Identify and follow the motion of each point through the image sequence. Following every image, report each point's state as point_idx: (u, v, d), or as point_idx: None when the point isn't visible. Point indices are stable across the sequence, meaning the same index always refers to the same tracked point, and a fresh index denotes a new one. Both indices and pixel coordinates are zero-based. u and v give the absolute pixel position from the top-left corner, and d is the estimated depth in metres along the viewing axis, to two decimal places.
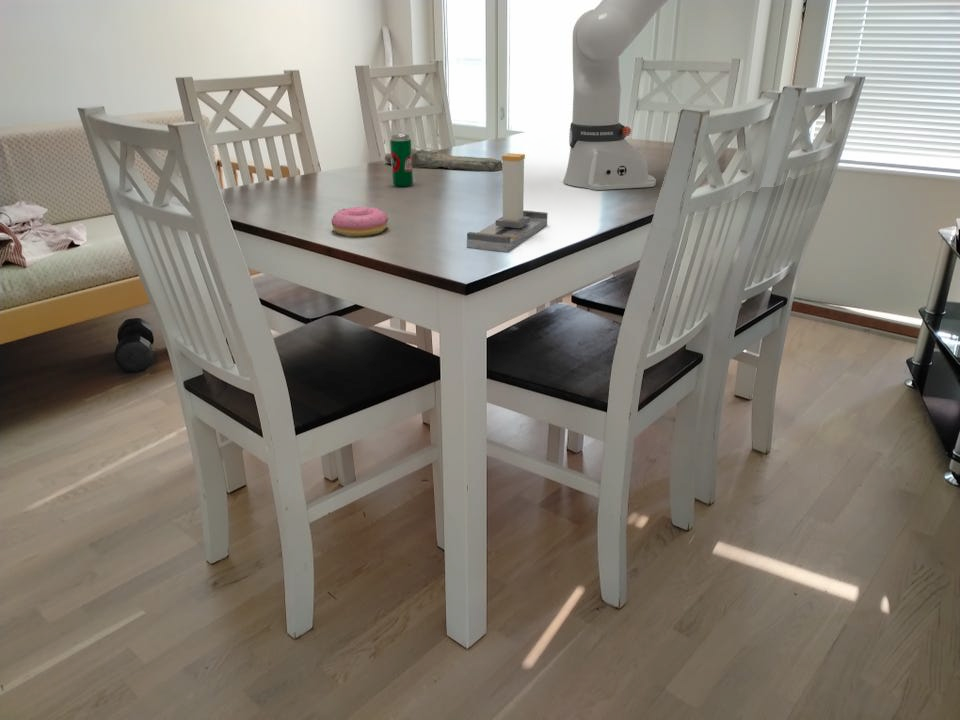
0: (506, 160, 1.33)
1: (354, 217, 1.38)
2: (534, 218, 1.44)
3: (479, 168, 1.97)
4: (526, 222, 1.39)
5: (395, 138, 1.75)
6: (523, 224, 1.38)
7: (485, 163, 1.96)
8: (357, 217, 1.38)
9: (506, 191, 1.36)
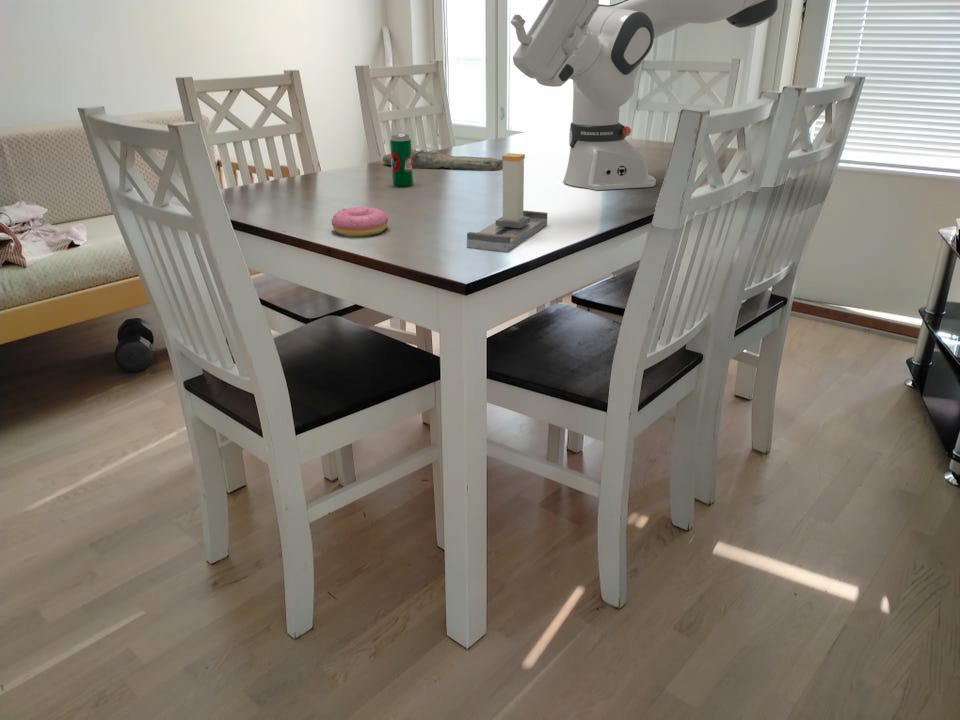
0: (506, 160, 1.33)
1: (354, 217, 1.38)
2: (534, 218, 1.44)
3: (482, 168, 1.98)
4: (526, 222, 1.39)
5: (395, 138, 1.75)
6: (523, 224, 1.38)
7: (488, 163, 1.97)
8: (357, 217, 1.38)
9: (506, 191, 1.36)
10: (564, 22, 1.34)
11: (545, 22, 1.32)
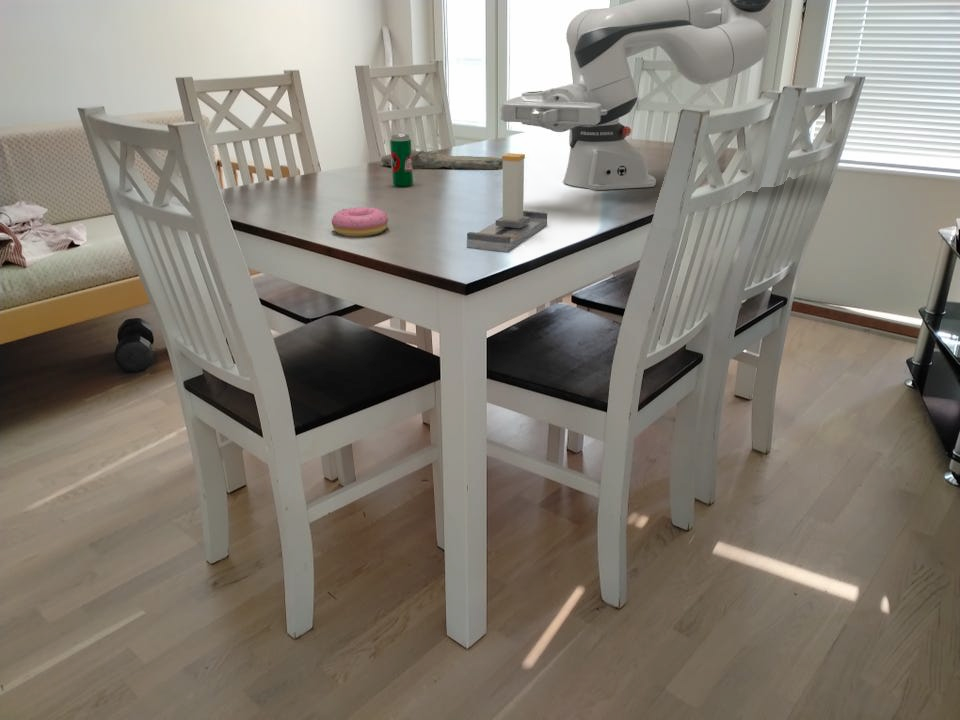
0: (506, 160, 1.33)
1: (354, 217, 1.38)
2: (534, 218, 1.44)
3: (484, 167, 1.99)
4: (526, 222, 1.39)
5: (395, 138, 1.75)
6: (523, 224, 1.38)
7: (490, 162, 1.98)
8: (357, 217, 1.38)
9: (506, 191, 1.36)
10: None
11: (538, 122, 1.47)
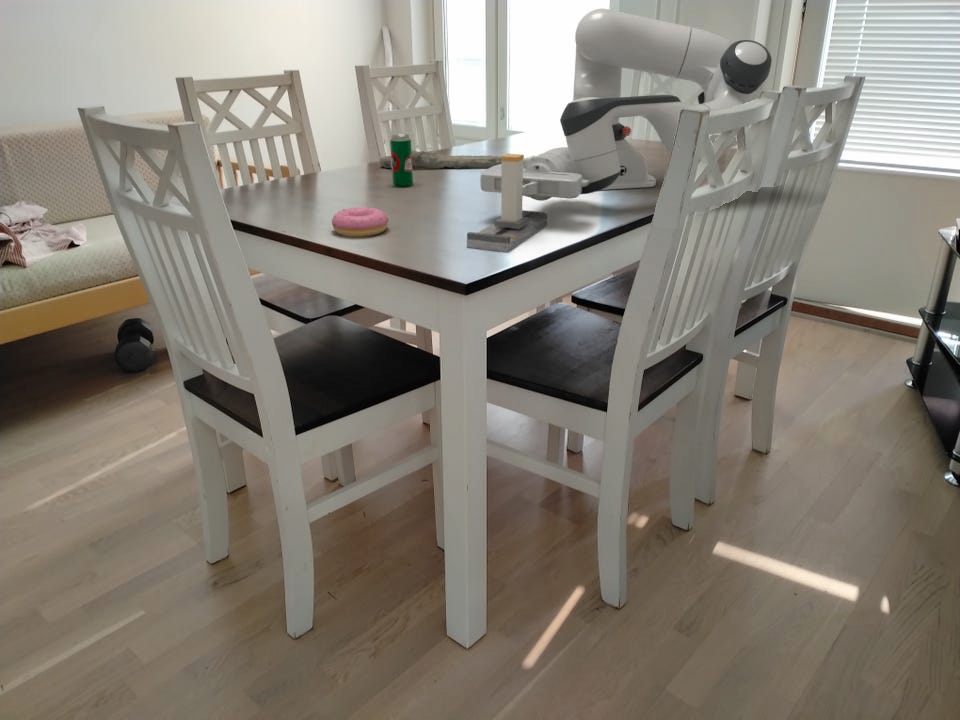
0: (505, 161, 1.33)
1: (354, 217, 1.38)
2: (534, 218, 1.44)
3: (487, 166, 2.00)
4: (525, 223, 1.38)
5: (395, 138, 1.75)
6: (522, 225, 1.37)
7: (492, 160, 2.00)
8: (357, 217, 1.38)
9: (505, 192, 1.35)
10: None
11: None
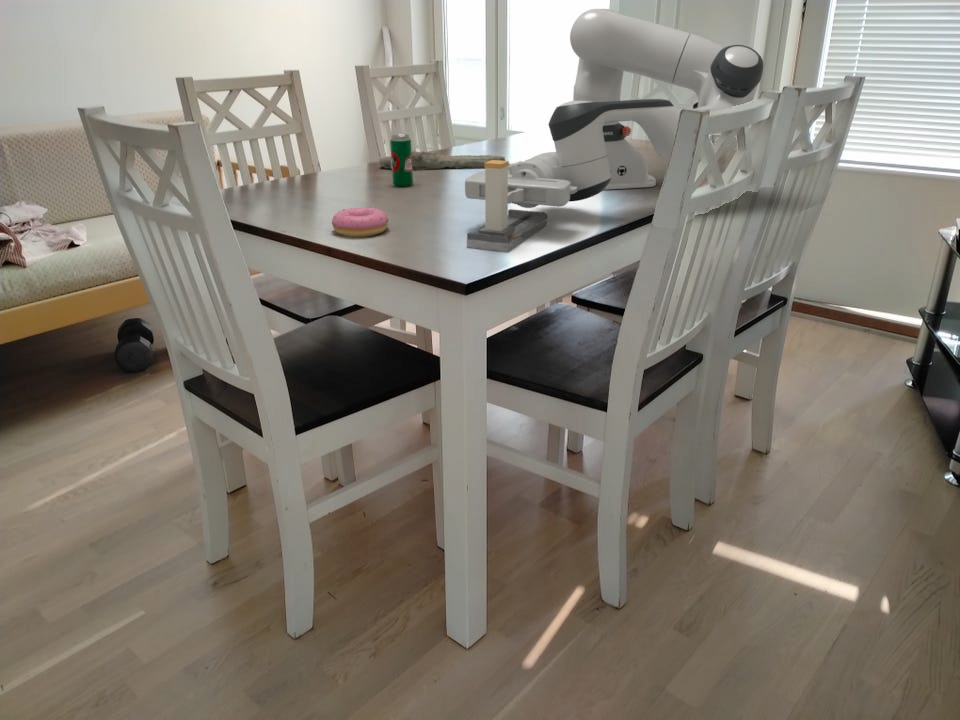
0: (489, 167, 1.27)
1: (354, 218, 1.38)
2: (534, 218, 1.44)
3: None
4: (510, 232, 1.33)
5: (395, 138, 1.75)
6: (507, 234, 1.31)
7: None
8: (357, 218, 1.38)
9: (489, 200, 1.29)
10: None
11: None
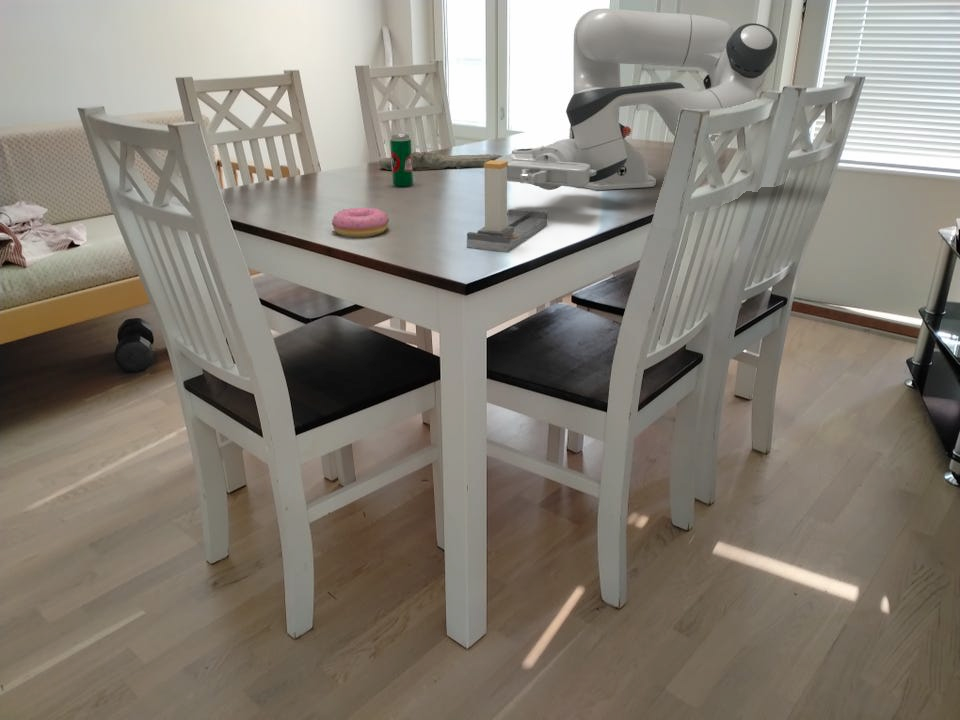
0: (488, 168, 1.27)
1: (355, 218, 1.38)
2: (534, 218, 1.44)
3: None
4: (510, 232, 1.32)
5: (395, 138, 1.75)
6: (506, 234, 1.31)
7: (494, 159, 2.02)
8: (358, 218, 1.38)
9: (488, 200, 1.29)
10: None
11: None
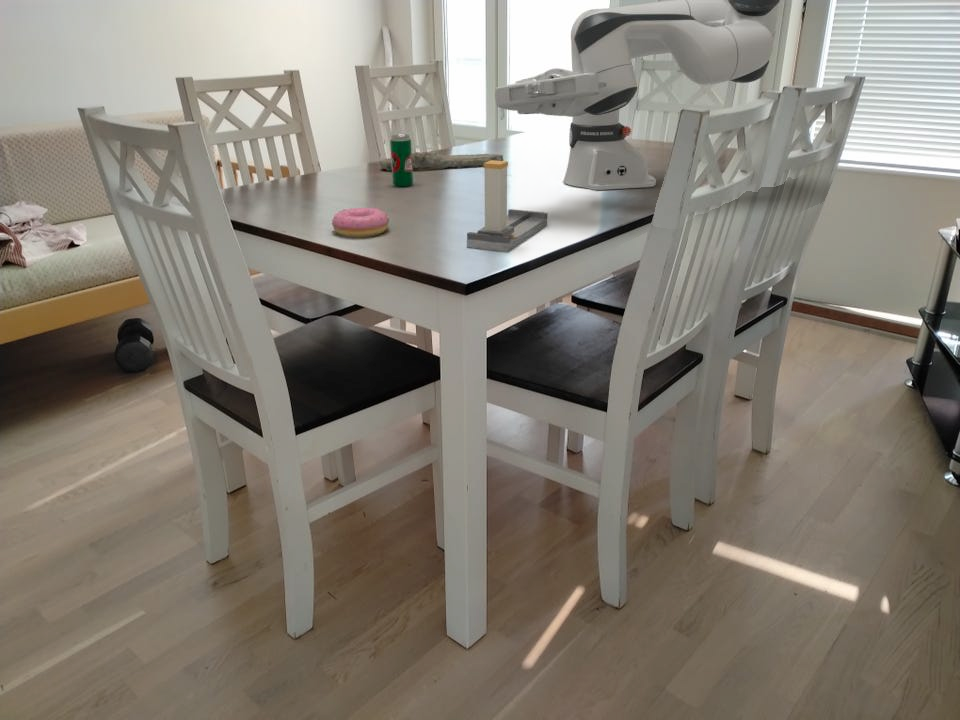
0: (488, 168, 1.27)
1: (355, 218, 1.37)
2: (534, 218, 1.44)
3: None
4: (510, 232, 1.32)
5: (395, 138, 1.75)
6: (506, 234, 1.31)
7: (494, 158, 2.03)
8: (358, 218, 1.37)
9: (488, 200, 1.29)
10: None
11: (534, 100, 1.39)
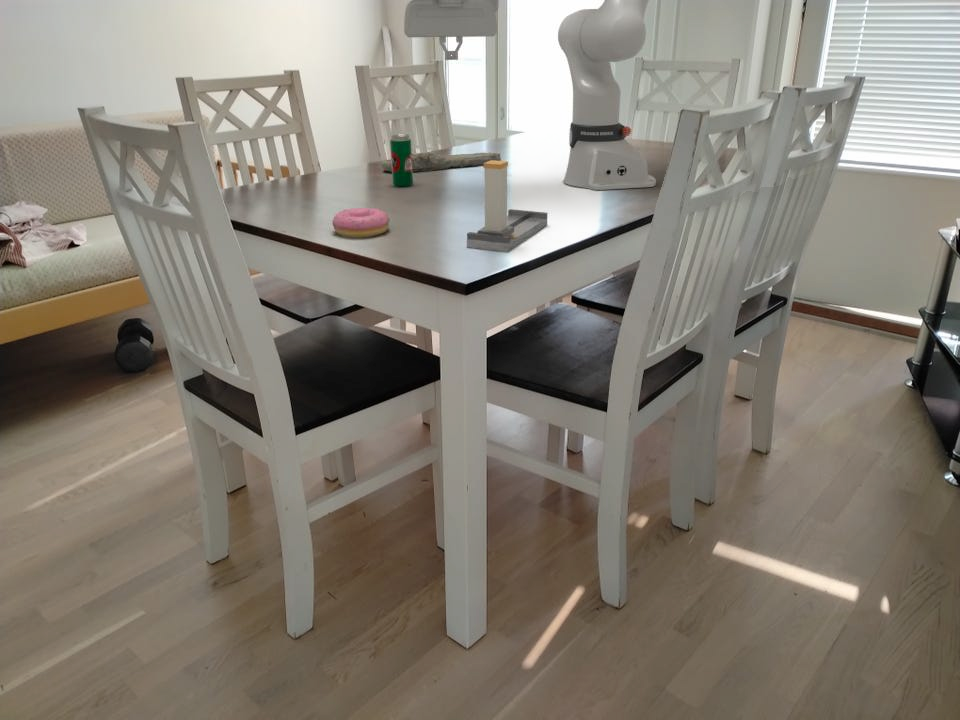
0: (488, 168, 1.27)
1: (355, 218, 1.37)
2: (534, 218, 1.44)
3: None
4: (510, 232, 1.32)
5: (395, 138, 1.75)
6: (506, 234, 1.31)
7: (494, 157, 2.05)
8: (358, 218, 1.37)
9: (488, 200, 1.29)
10: None
11: None
